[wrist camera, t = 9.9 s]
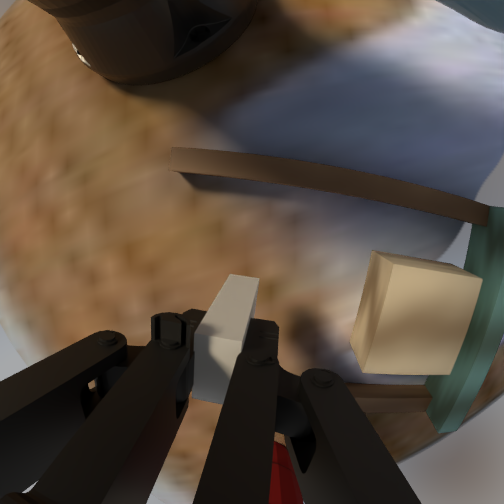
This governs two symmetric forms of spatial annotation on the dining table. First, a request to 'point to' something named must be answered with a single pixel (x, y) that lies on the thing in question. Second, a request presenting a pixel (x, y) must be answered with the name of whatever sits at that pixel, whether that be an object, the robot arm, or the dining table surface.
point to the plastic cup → (283, 479)
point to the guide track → (415, 197)
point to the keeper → (413, 315)
